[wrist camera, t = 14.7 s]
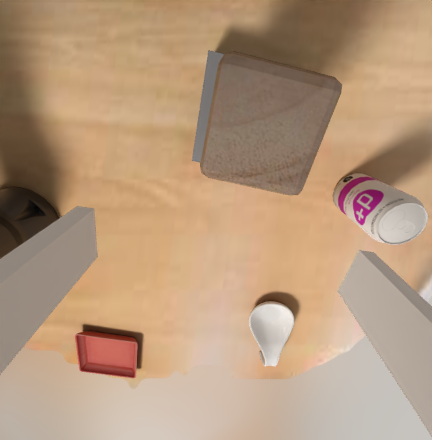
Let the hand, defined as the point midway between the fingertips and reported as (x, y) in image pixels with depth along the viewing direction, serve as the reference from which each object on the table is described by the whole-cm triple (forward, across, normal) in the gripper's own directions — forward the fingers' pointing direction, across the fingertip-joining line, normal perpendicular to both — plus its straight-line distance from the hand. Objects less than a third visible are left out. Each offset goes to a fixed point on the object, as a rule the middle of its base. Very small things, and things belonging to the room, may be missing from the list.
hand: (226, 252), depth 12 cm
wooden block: (+31, +3, +5) cm, 31 cm away
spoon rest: (+37, +22, -46) cm, 63 cm away
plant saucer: (+38, -23, -67) cm, 80 cm away
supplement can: (+36, +28, -4) cm, 46 cm away
